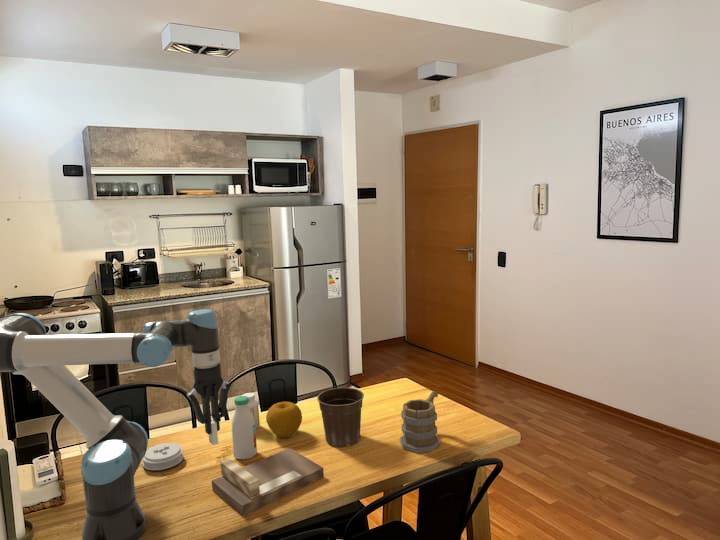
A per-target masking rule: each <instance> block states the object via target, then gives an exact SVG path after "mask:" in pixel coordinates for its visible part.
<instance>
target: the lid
mask: <svg viewBox="0 0 720 540" xmlns="http://www.w3.org/2000/svg"><path fill="white" fill-rule="evenodd" d="M183 449H184V448H183V446H182V445H179V444H177V443H173V442H165V443H158V444H155V445H153V446H151V447H149V448H147V451H146V454H145V456H144V457H143V459H142V467H143V468H144V469H146V470H149V471H163V470H167V469H169V468H172V467H175V466H177V465H179V464H180V463H181V462H182V461H183V460H184V453H183V451H184V450H183Z"/></svg>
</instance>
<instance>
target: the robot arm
mask: <svg viewBox="0 0 720 540" xmlns="http://www.w3.org/2000/svg"><path fill="white" fill-rule="evenodd" d="M187 316H188V317H187V318H185V319H173V320H155V321H150V322H149V321H148V322H146V323H145V324H144V325H143V329H142V332H119V333H118V332H117V333H80V334H76V333H75V334H74V333H73V334H69V333H68V334H47V330H46V327H45V325H44V324H43V322H42V320H40V319H39V318H38V317H36V316H34V315H32V314H30V313H27V312H26V313H24V312H17V313H12V314H7V315H4V316H2V317H1V318H0V373H7V372H8V373H12V374H13V375H22V376H24V378H26V380H27V381H29V383H31V385H33V386H34V387H35V389H37V391H38V392H40V393H41V394H42V395H43V396H44V397H45V398H46V399H47V400H48V401H49V402H50V404H52V405H53V406H54V407H55V408H56V410H58V411H59V412H60V414H61V415H63V416H64V417H65V419H67V420H68V421H69V422H70V424H72V425H73V426H74V427H75V428H76V430H78V432H80V433H81V434H82V435H83V436H84V437H85V439H86V445H85V448H87V451H85V452H84V454H83V456H82V458H81V463H80V464H81V465H80V469H81V470H80V473H81V478H82V485H83V492H84V499H85V506H86V514H85V515H86V516H85V520H84V524H83V528H82V532H81V533H82V534H81V539H82V540H138V539H139V538H140V537H141V536H142V535H143V534H144V533H145V531H146V528H147V524H146V522H147V521H146V516H145V514H144V512H143V510H142V508H141V507H140V504H139V502H138V500H137V496H136V495H137V494H136V485H135V474H136V472H137V471H138V468H139V467H140V465H141V462H143V460H142V459H143V457H144V456H145V454H146V451H147V450H148V446H149V445H148V444H149V438H148V437H149V436H148V434H147V431H146V430H145V428H144V427H143V426H142V425H141V424H139V423H137V422H135V421H129V420H127V419H126V418H125V417H124V416H123V415H121V414H119V415H115V414H113V413H112V412H110V410H109V409H108V408H107V407H106V406H105V405H104V404H103V403H102V402H101V401H100V400H99V399H98V398H97V397H96V396H95V395H94V394H93V392H91V391H90V390H89V389H88V388H87V387H86V385H84V384H83V383H82V381H80V380H79V378H78V377H76V375H75V374H74V373H73V372H72V371H71V370H70V369H69V368H68V367H67V366H81V365H82V366H83V365H107V364H109V365H112V364H113V365H115V364H139V363H140V364H142V365H144V366H146V367H148V368H156V367H160V366H161V365H162V364H164V363H165V362H166V361H167V360H168V359H169V358H170V357H171V355H172V353H173V351H174V349H175V348H179V347H180V348H181V347H189V346H190V349H191V358H192V359H191V360H192V366H193V367H192V370H193V380H194V384H193V388H192V390H191V391H190V392H187V393H186V394H185V396H186V397H187V398H188V399H189V401H190V404H191V406H192V408H193V412H194V414H195V417H196V419H197V422H199V423H200V424H202V425H204V428H205V429H204V431H205V433H206V434H207V435H208V440H209V441H208V442H209V443H210V444H211V445H213V446H215V445H218V444H219V437H218V436H219V435H218V432H219V431H220V429H221V428H220V426H221V425H220V422H221V421H222V418H225V416H226V411H227V404H228V397H229V392H230V388H231V387H232V383H230V382H228V381H224V379H223V377H222V365H221V363H220V362H221V355H220V343H219V341H220V340H219V327H218V326H219V325H218V321H217V313H216V312H215V311H214V310H213V309H209V308H203V309H202V308H201V309H195V310H192V311H190V312H188V315H187ZM219 391H220V392H219ZM219 393H220V394H219ZM198 395H199V396H200V398H201V405H200V403H199V402H200V401H199V400H198ZM201 406H202V408H201Z"/></svg>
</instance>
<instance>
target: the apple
mask: <svg viewBox="0 0 720 540" xmlns="http://www.w3.org/2000/svg"><path fill="white" fill-rule="evenodd" d="M265 419H266V420H265V421H266V423H267V425H268V428H269V429H270V430H271V432H272V433H273V434H274V435H275V436H277V437H280V438H283V439H284V438H286V439H288V438H292V437H293V436H295V435H296V434H297V433H298V430H299V428H300V425H302V420H303V414H302V411H301V409H300V408H299V405H297V404H296V403H294V402H291V401H281V402H280V401H279V402H276V403H274V404H272V405H271V407H269V408H268V410H267V412H266V417H265Z"/></svg>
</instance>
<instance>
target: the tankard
mask: <svg viewBox="0 0 720 540" xmlns="http://www.w3.org/2000/svg"><path fill="white" fill-rule="evenodd" d="M438 396H439V392H438V391H435V390H432V391H431V392H430V394H429V396H428V397H427V399H410V400H408V401H406V402H405V403H402V404H403V405H402V410H401V413H400V414H401V418H402V421H403V423H402V424H401V432H402V434H403V435H401V436H400V437H399V442H400V445H401V447H402V449H403V450H405V451H409V452H412V453H414V454H415V453H416V454H421V453H430V452H433V451H435V449H437V448H438V447H439V446H440V444H441V443H440V440H439V438H438V436H437V434H438V427H437V425H436V421H438V413H437V411H436V405H435V404H434V400H435V398H438Z"/></svg>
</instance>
